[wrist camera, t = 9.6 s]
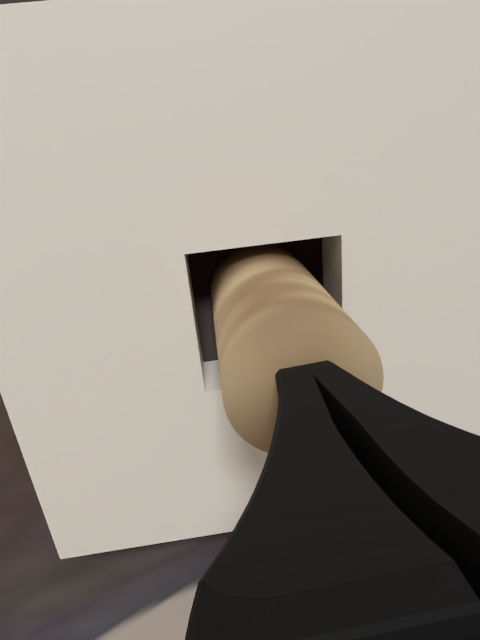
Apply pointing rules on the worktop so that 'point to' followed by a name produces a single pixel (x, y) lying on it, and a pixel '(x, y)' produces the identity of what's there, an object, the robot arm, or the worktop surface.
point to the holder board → (220, 229)
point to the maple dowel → (277, 334)
